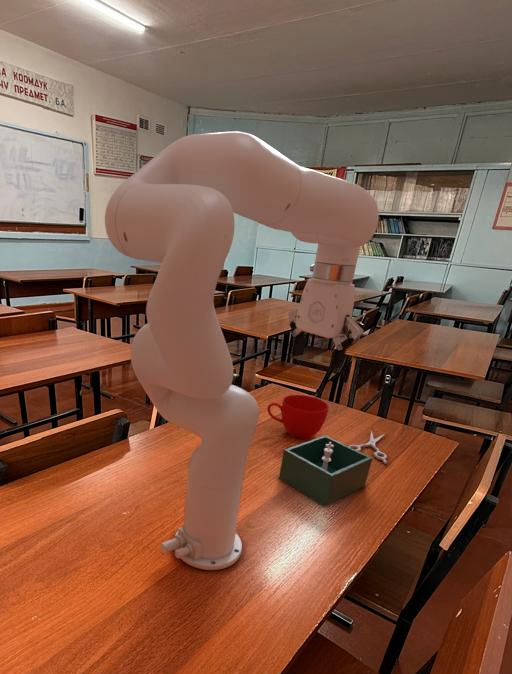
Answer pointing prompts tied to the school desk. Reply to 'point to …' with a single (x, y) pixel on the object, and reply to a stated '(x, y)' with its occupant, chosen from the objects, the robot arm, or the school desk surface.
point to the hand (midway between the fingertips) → (315, 361)
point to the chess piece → (327, 456)
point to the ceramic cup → (301, 415)
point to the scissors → (372, 444)
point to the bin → (318, 483)
